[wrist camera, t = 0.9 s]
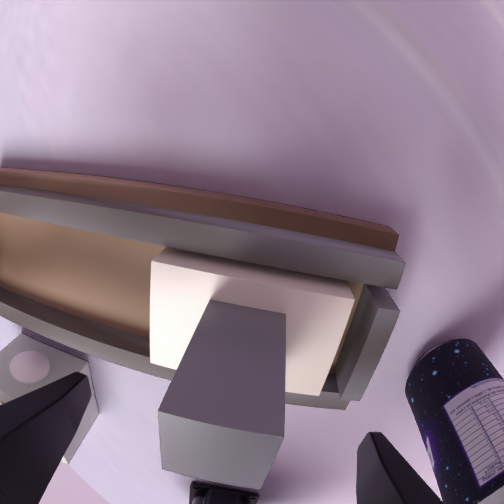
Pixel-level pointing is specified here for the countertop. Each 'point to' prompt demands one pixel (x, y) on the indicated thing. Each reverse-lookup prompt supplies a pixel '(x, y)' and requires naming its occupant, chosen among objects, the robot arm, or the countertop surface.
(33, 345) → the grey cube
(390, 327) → the rail
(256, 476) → the carriage
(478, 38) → the countertop surface
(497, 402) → the beverage can
